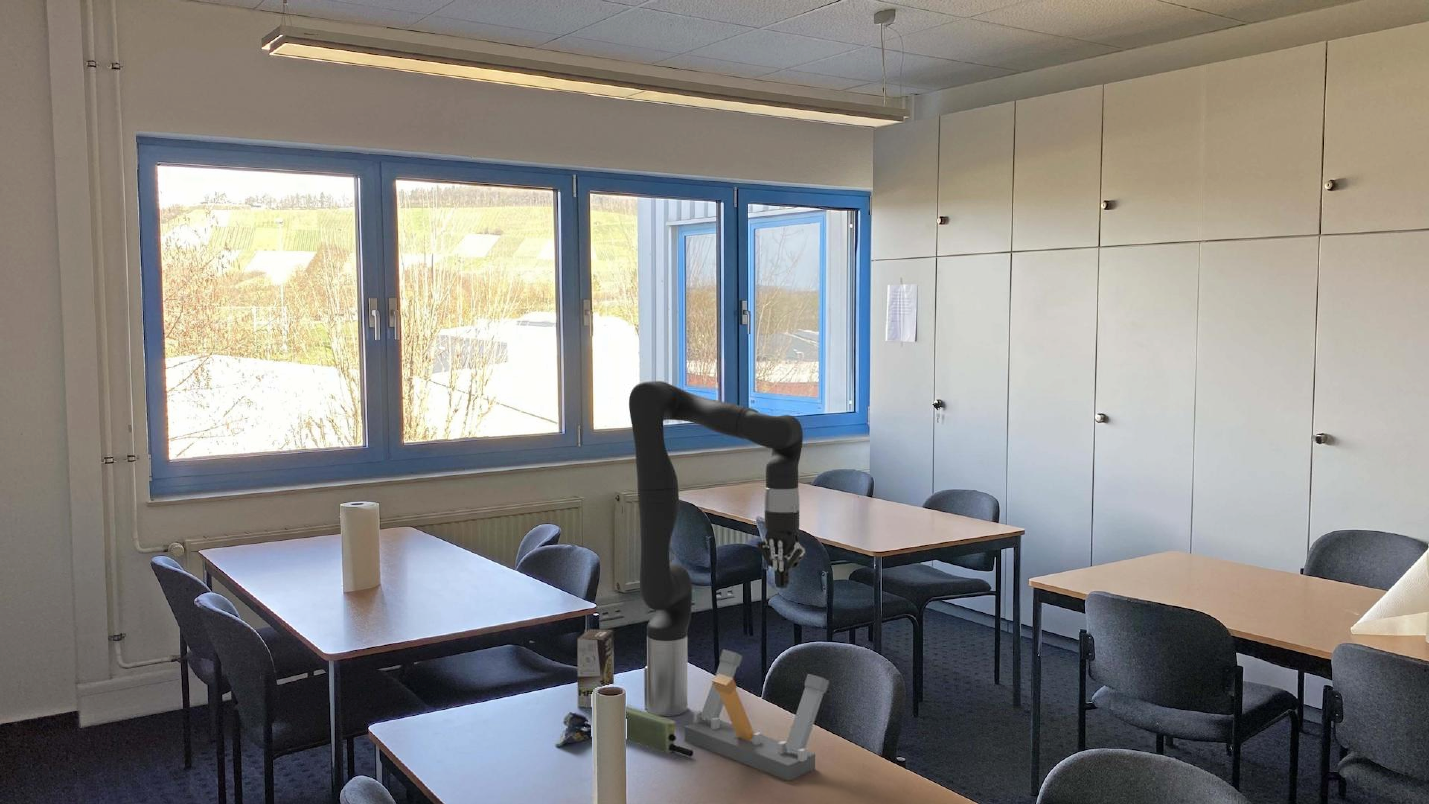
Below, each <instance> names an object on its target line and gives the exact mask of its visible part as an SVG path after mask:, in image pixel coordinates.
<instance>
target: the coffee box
mask: <svg viewBox="0 0 1429 804" xmlns="http://www.w3.org/2000/svg"><path fill="white" fill-rule="evenodd" d="M614 631H615V630H613V629H601V628H599V629H593V628H592V629H590V628H589V629H588V630H586V631H585V632H584V633H582V634H581V635H580V636H579V637H578V638H577V707H580V708H589V709H590V708H591V694H592V692H593V690H594V689H595V688H597V687H602V686H605V685H609V684H614V685H615V679H614V678H615V677H614V676H615V674H614V673H615V671H614V665H615V664H614V661H615V660H614V659H615V657H614V656H615V655H614V650H615V649H614V648H615V647H614V643H615V642H614Z"/></svg>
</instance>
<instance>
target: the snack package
mask: <svg viewBox="0 0 1429 804" xmlns="http://www.w3.org/2000/svg"><path fill="white" fill-rule="evenodd" d="M588 722H589V720H588V719H587V717H586V716H585V715H583V714H580V713H577V712H571V711H569V713H567V715H565V717H564V718H563V721H562V723H563V725H564V726H565V727H567V728H565V729H564V730H563V731H562V733H561V735H560V738H559V740H558V741H557V743H555V745H556V746H557V747H558V746H561V747H562V746H563V745H564V744H565V743H566V744H570V743H571V744H572V743H576V742H577V743H578V742H580V741H582V742H583V741H586V740H589V739H591V725H592V724H590V723H588ZM584 727H585V728H584ZM562 740H563V741H562ZM558 743H559V744H558Z"/></svg>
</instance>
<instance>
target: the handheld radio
mask: <svg viewBox="0 0 1429 804" xmlns="http://www.w3.org/2000/svg"><path fill="white" fill-rule="evenodd" d="M625 706H626V705H625ZM626 719H627V740H626V741H628V740H630V741H629V742H631V741H632V743H634V744H637V743H639V744H638V745H640V744H641V746H643V745H644V747H646V746H648V747H647V748H649V747H650V748H649V749H652V748H654V749H653V750H655V749H656V750H655V751H658V750H659V752H661V751H663V752H662V753H664V752H665V754H671V753H672V752H671V751H673V752H675V753H679V754H681V755H683V756H687V757H690V758H691V757H693V755H694V750H692V749H689V748H685V747H683V746H680V745H676V744H675V741H676V740H677V736H676V735H675V733H674V732H675V731H676V727H675V726H674V725H675V724H676V723H677V721H675V720H672V719H669V718H665V717H664V716H659V715H654V714H651V713H650V712H648V711H647V712H646V711H642V710H639V709H636V708H632V707H629V706H626Z"/></svg>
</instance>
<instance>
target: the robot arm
mask: <svg viewBox="0 0 1429 804" xmlns="http://www.w3.org/2000/svg"><path fill="white" fill-rule="evenodd" d="M628 399H629V400H628V409H629V417H630V423H631V429H632V434H633V439H634V447H635V465H636V466H635V467H636V476H637V477H636V478H637V479H636V482H637V483H636V484H637V486H636V487H637V501H638V502H637V503H638V512H639V533H640V535H639V537H640V563H639V564H640V565H639V567H640V568H639V572H640V573H639V589H640V594H641V598H642V600H643V601H644V604H645V605H646V606H647V607H648V608H650V609H651V610H654V611H655V613H654V614H653V616H652V617H651V619H650V620H649V621H648V623H647V625H646V652H647V653H646V666H644V669H643V670H644V673H643V675H644V677H643V679H644V681H643V682H644V690H643V691H644V695H643V696H644V708H645V709H647V710H646V711H647V713H650V714H653V715H657V716H660V717H673V716H678V715H682V714H684V713H686V712H687V711H688V709H689V708H688V628H689V627H690V626H689V625H690V623H691V620H692V619H691V617H692V601H693V600H692V599H693V595H692V594H693V588H692V587H693V586H692V579H691V577H690V573H689V572H688V570H687V569H686V568H685V567H684V566H683V565H681V564H678V563H671V562H670V545H671V540H672V536H673V533H674V529H675V526H676V522H677V520H678V519H677V518H678V516H679V510H680V496H679V495H680V494H679V483H678V476H677V473H676V469H675V467H674V465H673V463H672V460H671V458H670V456H669V453H668V450H667V449H666V444H665V443H666V442H665V434H664V433H665V432H664V421H667V420H669V421H684V422H689V423H694V424H697V425H699V426H703V427H704V428H707V429H708V430H711V431H712V432H716V433H718V434H721V435H726V436H729V437H733V438H737V439H742V440H746V441H749V442H752V443H753V444H756V445H759V446H761V447H764V448H768V449H771V450H772V451H771V457H770V460H769V461H768V462H767V463H766V465H765V466H766V467H765V493H764V529H765V530H766V532H765V535H764V537H765V538H764V539H763V540H762V541H758V542H757V544H756V545H757V547H758V549H759V551H760V553H761V555H762V557H763V559H764V561H765V563H766V565H767V566H768V567H771V568H773V570H774V584H775V587H776V588H778V589H786V588H788V586H789V583H790V581H789V580H790V579H789V578H790V570H794V569H797V567H798V566H799V565H800V563H801V562H802V561H803V559H804V557H805V556H806V554H807V552H808V548H807V547H805V546H804V547H803V546H802V545H801V544H800V538H799V535H798V531H799V529H800V492H799V464H800V460H801V453H802V449H803V448H802V447H803V439H804V434H803V431H804V430H803V426H802V424H801V422H800V421H799V419H798V418H797V417H795V416H793V415H790V414H784V415H777V416H776V415H769V414H765V413H761V412H759V411H758V410H756V409H754V408H753V407H747V406H743V405H738V404H736V403H731V402H730V403H729V402H726V401H720V400H716V399H711V398H707V397H703V396H700V395H697V394H693V393H691V392H688V391H686V390H684V389H681V388H680V387H677V386H674V385H672V384H671V383H668V382H665V381H662V380H654V381H653V380H651V381H642V382H639V383H637V384H635V386H634V387H633V388H632V390H631V392H630V394H629V398H628Z"/></svg>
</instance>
